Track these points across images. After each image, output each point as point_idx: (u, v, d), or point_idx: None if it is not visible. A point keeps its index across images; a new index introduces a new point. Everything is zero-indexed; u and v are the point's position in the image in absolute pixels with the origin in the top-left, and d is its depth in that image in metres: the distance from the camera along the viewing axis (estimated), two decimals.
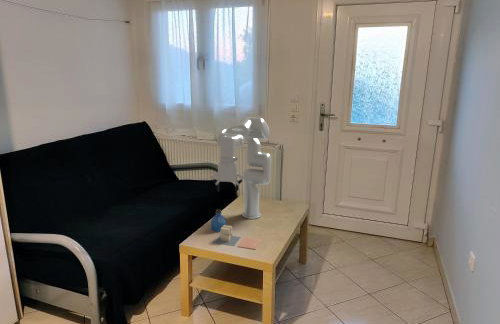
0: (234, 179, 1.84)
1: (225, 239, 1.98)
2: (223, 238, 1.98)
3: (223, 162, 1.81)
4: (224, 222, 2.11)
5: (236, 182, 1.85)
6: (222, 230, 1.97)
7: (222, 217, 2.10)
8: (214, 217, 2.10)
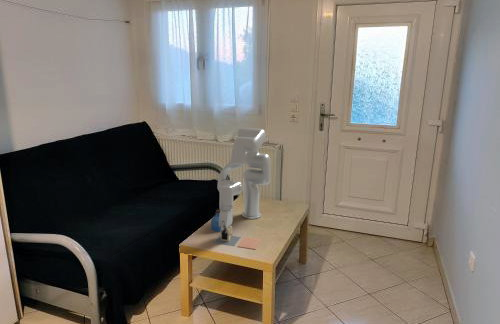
0: None
1: None
2: None
3: (230, 209, 1.93)
4: None
5: (230, 225, 2.01)
6: None
7: None
8: (214, 217, 2.10)
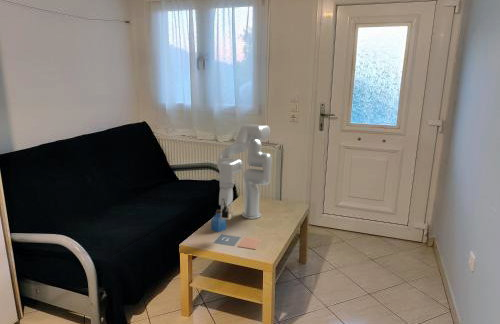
0: (232, 199, 1.98)
1: None
2: None
3: (230, 187, 1.91)
4: (224, 222, 2.11)
5: None
6: None
7: None
8: (214, 217, 2.10)
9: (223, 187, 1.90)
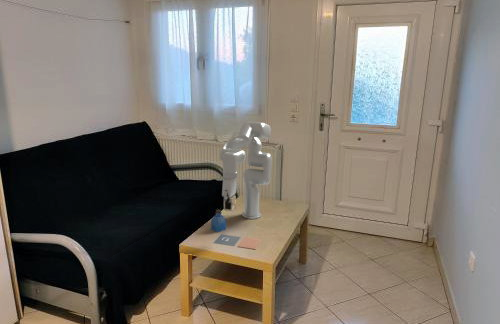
0: (235, 191, 1.96)
1: (228, 209, 1.93)
2: None
3: (234, 178, 1.88)
4: (224, 222, 2.11)
5: (234, 195, 1.96)
6: None
7: (222, 217, 2.10)
8: (214, 217, 2.10)
9: (226, 178, 1.88)
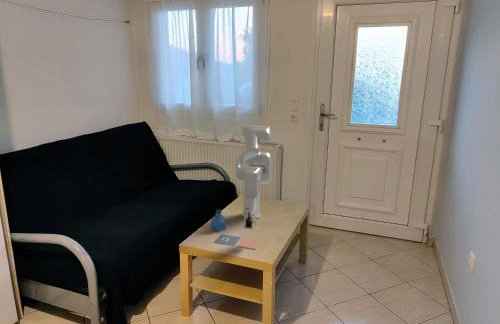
0: (256, 208, 1.94)
1: None
2: None
3: (255, 196, 1.86)
4: (224, 222, 2.11)
5: (254, 213, 1.94)
6: None
7: (222, 217, 2.10)
8: (214, 217, 2.10)
9: (247, 196, 1.86)
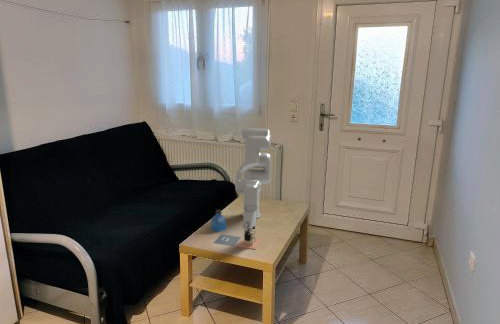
0: (255, 221, 1.96)
1: (249, 243, 1.93)
2: (247, 242, 1.93)
3: (255, 210, 1.88)
4: (224, 222, 2.11)
5: (254, 225, 1.97)
6: None
7: (222, 217, 2.10)
8: (214, 217, 2.10)
9: (247, 210, 1.87)
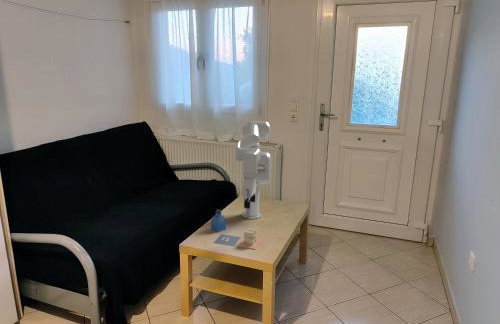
0: (255, 190, 1.94)
1: (249, 243, 1.93)
2: (247, 242, 1.93)
3: (255, 177, 1.87)
4: (224, 222, 2.11)
5: (254, 192, 1.96)
6: (246, 233, 1.92)
7: (222, 217, 2.10)
8: (214, 217, 2.10)
9: (247, 177, 1.86)
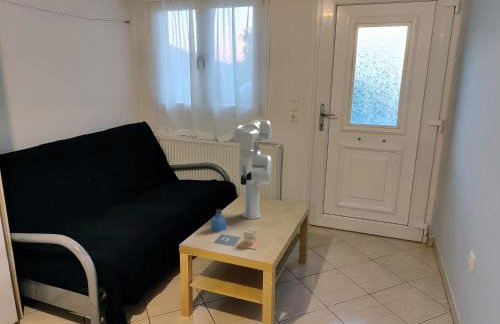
0: (251, 168, 2.05)
1: (249, 243, 1.93)
2: (247, 242, 1.93)
3: (251, 155, 1.97)
4: (224, 222, 2.11)
5: (250, 171, 2.06)
6: (246, 233, 1.92)
7: (222, 217, 2.10)
8: (214, 217, 2.10)
9: (243, 155, 1.96)
